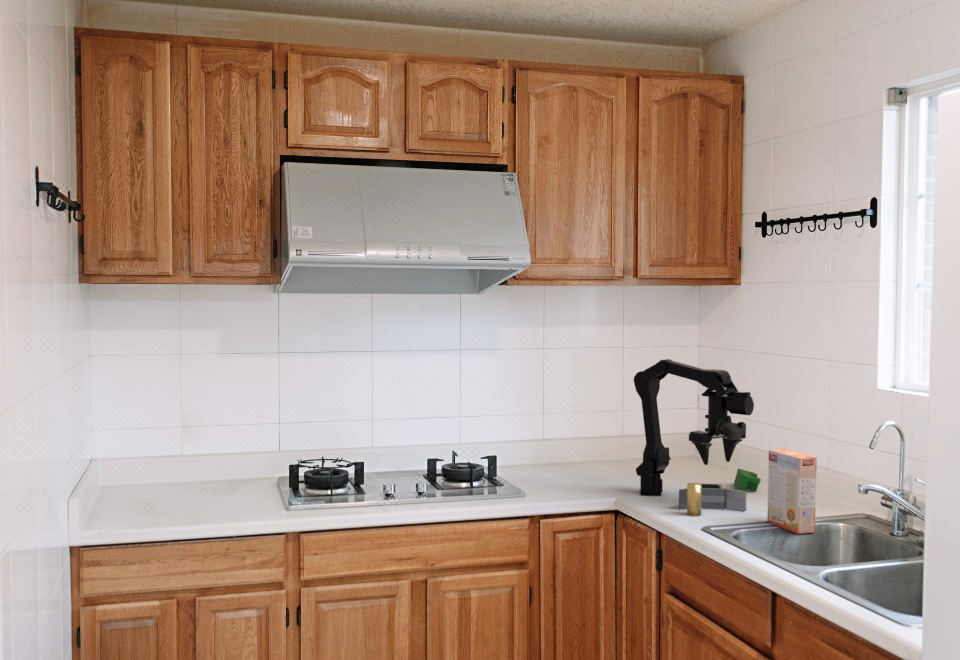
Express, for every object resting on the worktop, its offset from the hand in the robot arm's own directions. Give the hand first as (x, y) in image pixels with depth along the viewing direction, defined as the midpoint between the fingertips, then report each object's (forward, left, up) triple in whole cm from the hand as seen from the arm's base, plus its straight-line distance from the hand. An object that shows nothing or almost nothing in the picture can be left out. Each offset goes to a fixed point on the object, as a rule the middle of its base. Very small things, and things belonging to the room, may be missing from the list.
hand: (717, 463), depth 272 cm
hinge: (-2, -1, -13) cm, 13 cm away
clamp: (+13, +24, -13) cm, 30 cm away
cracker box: (+17, -22, -13) cm, 31 cm away
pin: (-8, -11, -13) cm, 19 cm away
